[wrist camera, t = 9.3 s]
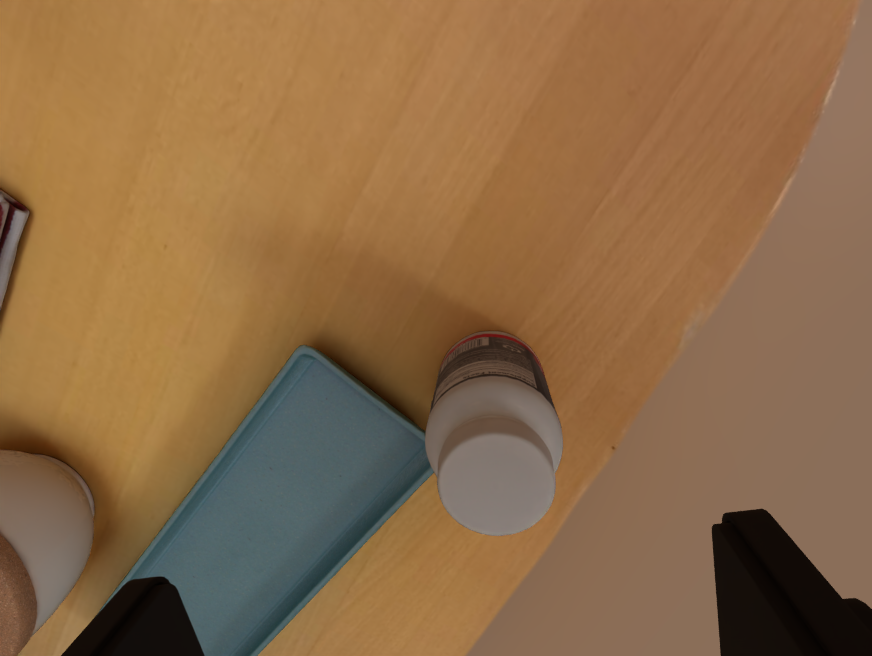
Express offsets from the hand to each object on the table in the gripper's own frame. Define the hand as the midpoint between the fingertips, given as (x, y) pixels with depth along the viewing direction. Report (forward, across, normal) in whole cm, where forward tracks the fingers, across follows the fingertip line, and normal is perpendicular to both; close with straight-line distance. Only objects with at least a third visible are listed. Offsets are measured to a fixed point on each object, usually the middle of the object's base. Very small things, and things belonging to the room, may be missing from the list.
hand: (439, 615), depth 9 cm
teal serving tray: (+18, +15, +10) cm, 25 cm away
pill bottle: (+18, -1, +3) cm, 18 cm away
